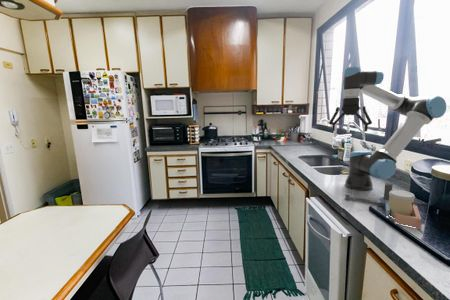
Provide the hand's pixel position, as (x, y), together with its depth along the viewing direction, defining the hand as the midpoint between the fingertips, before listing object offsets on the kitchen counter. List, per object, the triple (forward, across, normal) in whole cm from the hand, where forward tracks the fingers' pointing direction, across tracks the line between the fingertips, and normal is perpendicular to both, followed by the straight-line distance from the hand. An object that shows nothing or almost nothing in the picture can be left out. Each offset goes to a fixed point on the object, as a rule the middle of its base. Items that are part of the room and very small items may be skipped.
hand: (348, 137), depth 123 cm
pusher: (+34, +20, -10) cm, 41 cm away
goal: (+35, +26, -15) cm, 46 cm away
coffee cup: (+35, +24, -15) cm, 45 cm away
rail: (+35, +14, -3) cm, 37 cm away
